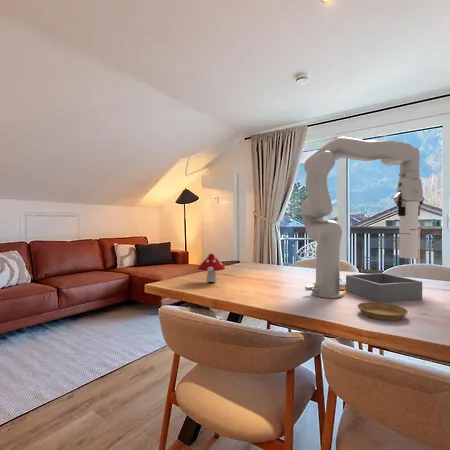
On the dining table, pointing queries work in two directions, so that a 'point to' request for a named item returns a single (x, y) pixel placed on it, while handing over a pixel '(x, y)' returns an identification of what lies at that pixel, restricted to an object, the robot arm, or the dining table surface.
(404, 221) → the cylindrical container
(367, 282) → the walled bin
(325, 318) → the dining table surface
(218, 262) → the decorative mushroom
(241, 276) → the dining table surface
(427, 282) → the dining table surface
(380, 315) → the plant saucer
